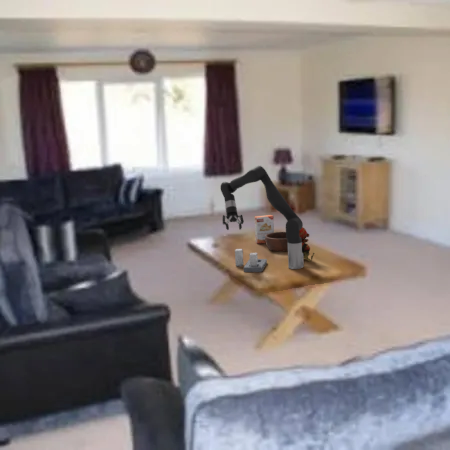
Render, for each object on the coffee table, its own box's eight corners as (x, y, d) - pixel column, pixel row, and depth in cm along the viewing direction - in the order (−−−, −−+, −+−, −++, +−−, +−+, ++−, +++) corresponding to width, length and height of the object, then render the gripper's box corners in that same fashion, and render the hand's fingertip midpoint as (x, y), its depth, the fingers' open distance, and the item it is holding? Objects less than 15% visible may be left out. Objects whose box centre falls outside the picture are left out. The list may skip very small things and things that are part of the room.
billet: (236, 264, 458) (236, 248, 456) (243, 264, 457) (242, 248, 455) (235, 266, 454) (234, 250, 452) (242, 266, 453) (241, 250, 451)
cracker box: (257, 244, 515) (256, 217, 511) (255, 242, 521) (254, 216, 517) (274, 242, 519) (273, 215, 515) (272, 240, 525) (271, 214, 521)
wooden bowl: (299, 244, 508) (298, 231, 506) (299, 252, 483) (298, 238, 481) (266, 245, 510) (265, 232, 508) (264, 253, 486) (264, 239, 484)
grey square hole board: (249, 263, 460) (249, 259, 459) (266, 263, 457) (266, 259, 457) (243, 271, 439) (243, 267, 438) (261, 271, 436) (261, 267, 436)
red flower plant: (320, 258, 456) (311, 224, 449) (297, 266, 454) (288, 233, 447) (312, 252, 471) (303, 219, 464) (290, 260, 468) (281, 228, 461)
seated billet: (251, 268, 445) (250, 252, 443) (258, 268, 444) (257, 252, 442) (250, 270, 441) (249, 254, 439) (256, 270, 440) (256, 254, 438)
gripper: (222, 205, 454) (225, 227, 447) (242, 205, 457) (245, 226, 450) (219, 211, 461) (222, 232, 454) (239, 210, 464) (243, 231, 457)
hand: (234, 229), depth 452 cm, fingers open, 8 cm apart
